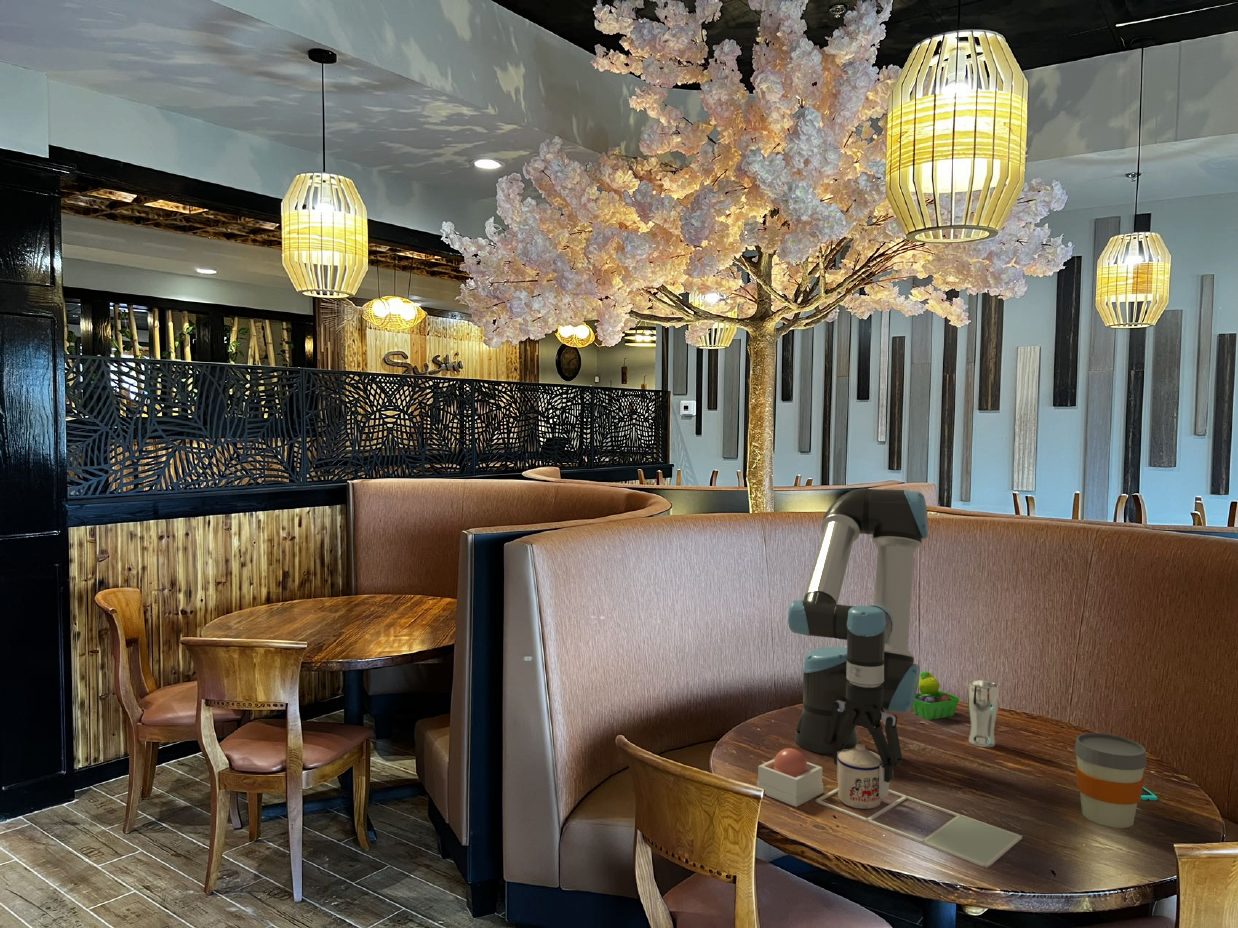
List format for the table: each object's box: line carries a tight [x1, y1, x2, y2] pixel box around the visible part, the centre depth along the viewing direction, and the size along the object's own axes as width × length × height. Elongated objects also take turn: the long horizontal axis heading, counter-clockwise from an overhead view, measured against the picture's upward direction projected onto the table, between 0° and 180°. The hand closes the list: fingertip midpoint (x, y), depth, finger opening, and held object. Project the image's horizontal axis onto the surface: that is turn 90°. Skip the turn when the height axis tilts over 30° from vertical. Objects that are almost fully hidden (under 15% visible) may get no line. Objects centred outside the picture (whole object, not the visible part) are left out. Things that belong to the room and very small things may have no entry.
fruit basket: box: [912, 670, 961, 721], centre depth 228 cm, size 11×9×11 cm
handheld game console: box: [1141, 786, 1158, 801], centre depth 184 cm, size 10×16×1 cm, turn 179°
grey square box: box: [756, 758, 824, 808], centre depth 178 cm, size 10×10×6 cm
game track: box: [814, 787, 1023, 869], centre depth 166 cm, size 35×16×1 cm, turn 44°
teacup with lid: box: [837, 743, 892, 810], centre depth 174 cm, size 12×9×12 cm
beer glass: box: [967, 679, 1000, 749], centre depth 207 cm, size 7×7×15 cm
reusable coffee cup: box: [1073, 732, 1148, 829], centre depth 168 cm, size 13×13×15 cm
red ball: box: [773, 747, 808, 778], centre depth 178 cm, size 7×7×7 cm
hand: (862, 787), depth 175 cm, fingers closed on teacup with lid, 9 cm apart
